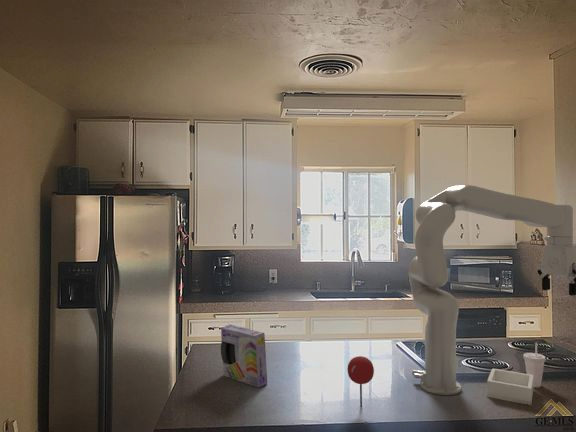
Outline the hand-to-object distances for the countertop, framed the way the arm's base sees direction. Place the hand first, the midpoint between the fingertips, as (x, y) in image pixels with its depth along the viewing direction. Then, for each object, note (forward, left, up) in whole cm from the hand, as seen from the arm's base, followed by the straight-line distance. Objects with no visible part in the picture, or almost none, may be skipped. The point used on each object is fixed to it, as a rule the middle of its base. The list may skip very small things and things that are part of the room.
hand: (559, 292), depth 152 cm
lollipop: (-50, -53, -30) cm, 78 cm away
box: (-13, -21, -29) cm, 38 cm away
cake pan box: (-93, -53, -30) cm, 111 cm away
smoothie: (-7, -10, -30) cm, 32 cm away
